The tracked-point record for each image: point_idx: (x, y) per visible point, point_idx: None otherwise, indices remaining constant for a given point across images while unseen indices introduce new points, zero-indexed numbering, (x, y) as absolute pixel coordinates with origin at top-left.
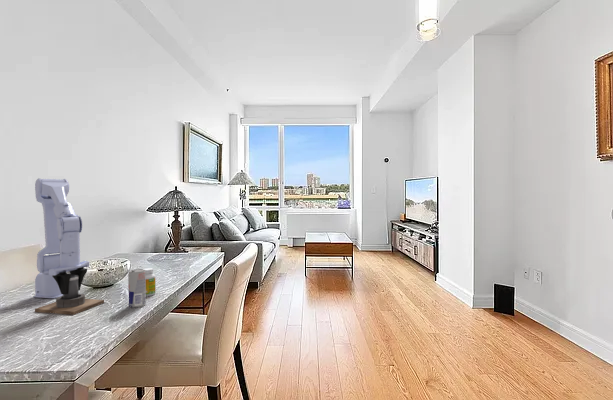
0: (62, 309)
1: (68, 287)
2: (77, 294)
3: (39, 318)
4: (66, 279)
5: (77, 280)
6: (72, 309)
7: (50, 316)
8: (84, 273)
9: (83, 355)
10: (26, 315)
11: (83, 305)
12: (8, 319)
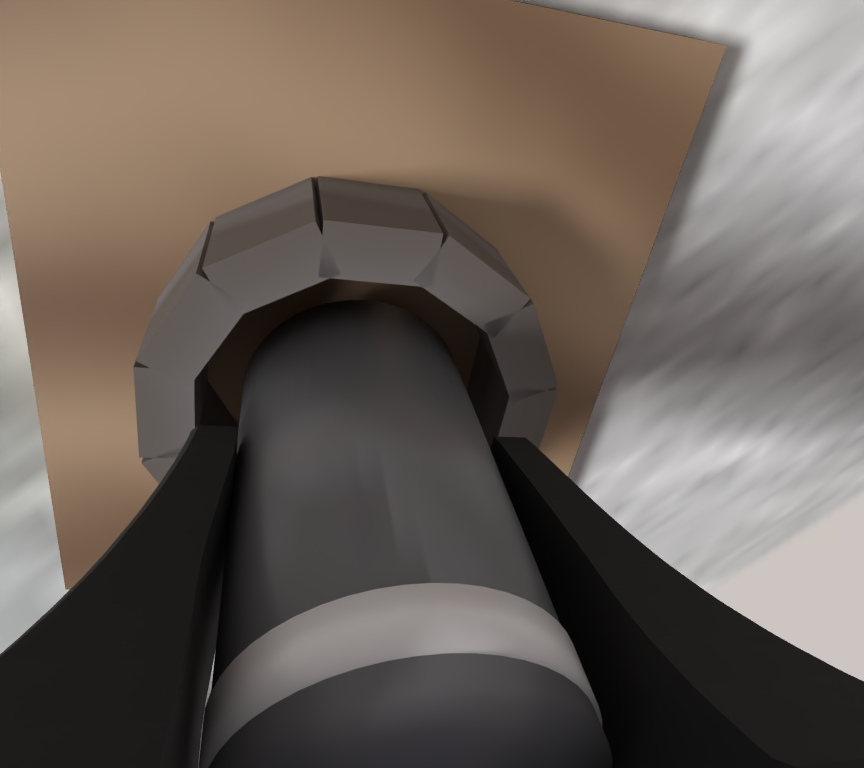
0: (589, 297)
1: (548, 505)
2: (343, 344)
3: (742, 375)
4: (778, 653)
5: (364, 559)
6: (606, 153)
7: (697, 314)
8: (1, 731)
9: None
10: None
11: (400, 112)
12: (703, 580)
